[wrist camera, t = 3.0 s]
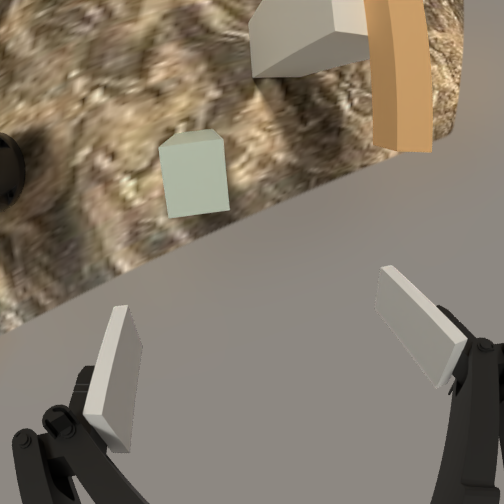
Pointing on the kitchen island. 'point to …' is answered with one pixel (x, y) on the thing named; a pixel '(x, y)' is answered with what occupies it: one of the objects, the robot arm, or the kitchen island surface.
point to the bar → (400, 75)
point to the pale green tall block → (194, 173)
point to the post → (306, 36)
